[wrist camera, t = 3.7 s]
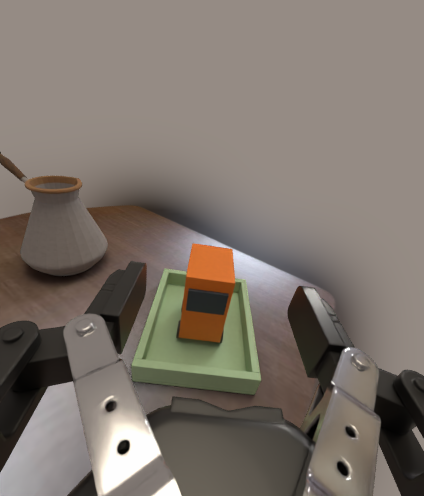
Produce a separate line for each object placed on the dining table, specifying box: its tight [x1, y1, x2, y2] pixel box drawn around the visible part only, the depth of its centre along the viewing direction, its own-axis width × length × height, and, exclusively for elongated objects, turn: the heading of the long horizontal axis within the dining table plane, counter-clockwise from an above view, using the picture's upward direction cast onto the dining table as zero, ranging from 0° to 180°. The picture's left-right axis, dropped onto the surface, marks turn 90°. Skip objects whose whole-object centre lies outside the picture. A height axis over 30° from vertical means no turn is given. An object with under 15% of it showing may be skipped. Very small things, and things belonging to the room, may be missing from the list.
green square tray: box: [131, 269, 261, 395], centre depth 30 cm, size 16×13×3 cm
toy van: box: [176, 244, 235, 343], centre depth 27 cm, size 7×5×10 cm
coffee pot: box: [0, 152, 108, 276], centre depth 35 cm, size 21×12×15 cm, turn 63°
